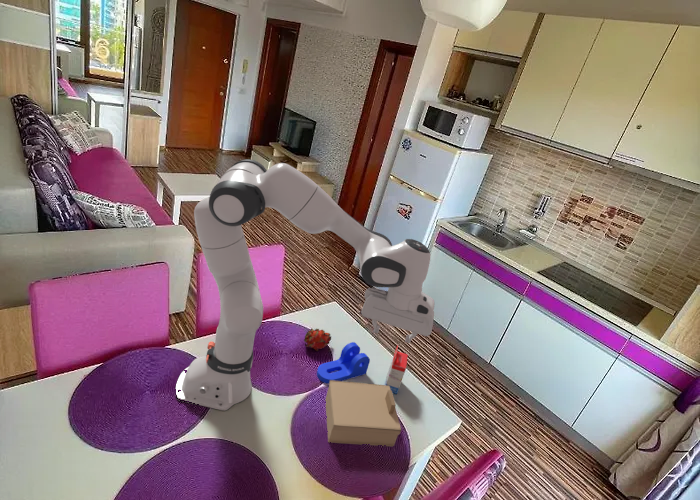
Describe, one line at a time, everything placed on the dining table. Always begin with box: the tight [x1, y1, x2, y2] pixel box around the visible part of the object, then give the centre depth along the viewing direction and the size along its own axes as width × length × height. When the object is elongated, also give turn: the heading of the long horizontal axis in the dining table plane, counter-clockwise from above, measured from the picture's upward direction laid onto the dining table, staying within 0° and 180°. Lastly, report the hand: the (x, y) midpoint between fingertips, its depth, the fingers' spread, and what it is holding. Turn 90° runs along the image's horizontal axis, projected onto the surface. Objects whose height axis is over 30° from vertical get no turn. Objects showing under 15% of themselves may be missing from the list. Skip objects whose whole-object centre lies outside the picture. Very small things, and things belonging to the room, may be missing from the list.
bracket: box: [316, 341, 371, 385], centre depth 143 cm, size 18×8×9 cm, turn 124°
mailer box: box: [324, 384, 399, 447], centre depth 124 cm, size 20×16×7 cm
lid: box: [328, 380, 402, 436], centre depth 122 cm, size 20×18×5 cm
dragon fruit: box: [303, 328, 332, 352], centre depth 153 cm, size 8×8×12 cm
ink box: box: [384, 344, 409, 395], centre depth 142 cm, size 8×5×15 cm, turn 168°
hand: (391, 336), depth 116 cm, fingers open, 8 cm apart
